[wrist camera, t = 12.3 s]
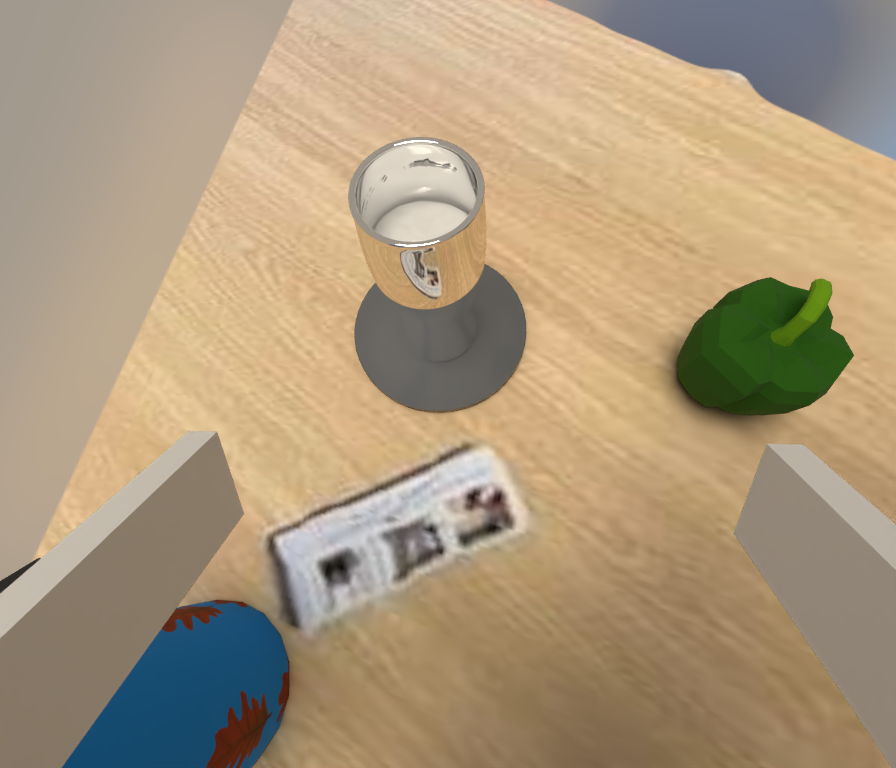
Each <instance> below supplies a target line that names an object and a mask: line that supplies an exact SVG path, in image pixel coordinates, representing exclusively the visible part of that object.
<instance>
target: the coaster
mask: <svg viewBox="0 0 896 768" xmlns="http://www.w3.org/2000/svg"><path fill="white" fill-rule="evenodd" d="M472 309H473V312H474V314H475V318H476V325H477V328H476V334H475V338H474V340H473V342H472V344H471V345H470V347H469V348H468V349H467V350H466V351H465V352H464V353H463V354H462V355H460V356H458V357H457V358H455V359H452V360H449V361H444V362H432V361H427V360H424V359H422V358H420V357H418V356H416V355H415V354H414V353H413V352H412V351H411V350H410V349H409V348H408V347H407V345H406V344H405V342H404V340H403V336H402V332H401V317H400V315H399V314H398V313H397V312H396V310H395V309H394V308H393V307H392V305H391V304H390V303H389V302H388V300H387V299H386V298H385V296H384V295H383V293H382V292H381V290H380V289H379V287H378V286H377V284H376V283H375V284H374V285H373V286H372V288H371V289H370V290H369V291H368V293H367V294H366V296H365V298H364V300H363V301H362V304H361V306H360V308H359V311H358V314H357V318H356V323H355V345H356V351H357V354H358V357H359V360H360V363H361V365H362V367H363V369H364V371H365V372H366V374H367V375H368V376H369V378H370V379H371V381H372V382H373V383H374V384H375V385H376V387H377V388H378V389H379V390H380V391H381V392H383V393H384V394H385V395H386V396H388V397H389V398H391V399H392V400H394V401H396V402H397V403H399V404H402V405H404V406H406V407H409V408H412V409H415V410H419V411H426V412H441V413H442V412H452V411H457V410H461V409H465V408H468V407H471V406H474V405H476V404H478V403H480V402H482V401H484V400H486V399H487V398H489V397H490V396H491V395H493V394H494V393H496V392H497V391H498V390H499V389H500V388H501V387H502V386H503V385H504V384H505V383H506V382H507V381H508V379H509V378H510V377H511V375H512V374H513V372H514V371H515V369H516V367H517V365H518V363H519V361H520V358H521V355H522V352H523V348H524V345H525V338H526V320H525V314H524V310H523V307H522V304H521V302H520V300H519V297H518V295H517V293H516V292H515V290H514V289H513V288H512V286H511V285H510V284H509V283H508V281H507V280H506V279H505V278H504V277H503V276H502V275H501V274H499V273H498V272H497V271H496V270H494V269H493V268H491V267H490V266H488V265H486V264H484V268H483V272H482V276H481V280H480V283H479V286H478V289H477V292H476V295H475V297H474V300H473V303H472Z"/></svg>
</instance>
